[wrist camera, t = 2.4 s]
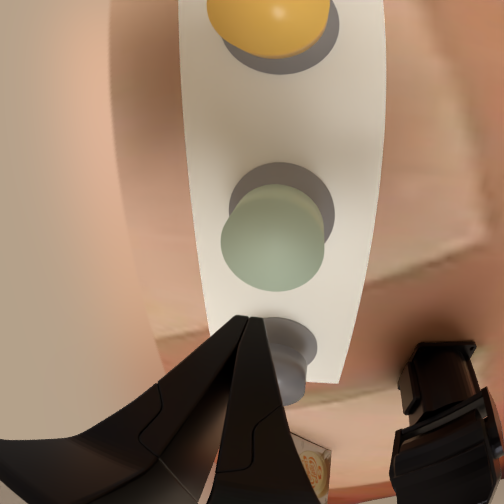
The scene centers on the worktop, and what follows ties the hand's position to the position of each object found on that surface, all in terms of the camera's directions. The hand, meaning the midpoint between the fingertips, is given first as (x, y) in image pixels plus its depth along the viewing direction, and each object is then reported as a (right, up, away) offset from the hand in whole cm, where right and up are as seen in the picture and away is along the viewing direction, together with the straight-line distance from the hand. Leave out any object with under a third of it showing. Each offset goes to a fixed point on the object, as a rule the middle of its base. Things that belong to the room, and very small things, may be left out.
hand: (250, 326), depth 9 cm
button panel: (+2, +6, +10) cm, 11 cm away
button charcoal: (+2, -5, +11) cm, 12 cm away
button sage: (+1, +4, +6) cm, 7 cm away
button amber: (+1, +12, +1) cm, 12 cm away
